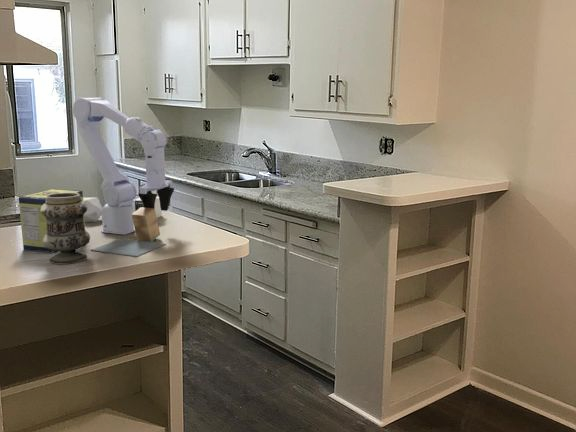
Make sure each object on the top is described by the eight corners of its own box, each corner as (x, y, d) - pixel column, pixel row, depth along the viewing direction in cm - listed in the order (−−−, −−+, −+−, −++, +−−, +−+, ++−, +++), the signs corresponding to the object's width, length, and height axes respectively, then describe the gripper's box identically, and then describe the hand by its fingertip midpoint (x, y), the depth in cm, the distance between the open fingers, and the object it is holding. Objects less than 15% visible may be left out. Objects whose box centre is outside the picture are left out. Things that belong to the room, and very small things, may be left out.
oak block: (137, 240, 182) (131, 214, 178) (146, 233, 186) (140, 207, 182) (151, 242, 180) (145, 215, 176) (160, 234, 184) (154, 208, 180)
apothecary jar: (84, 250, 171) (79, 189, 167) (97, 260, 161) (92, 195, 157) (40, 257, 165) (34, 193, 161) (50, 268, 155) (44, 200, 151)
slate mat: (90, 250, 171) (90, 249, 171) (121, 239, 184) (121, 238, 184) (136, 257, 165) (136, 255, 165) (165, 244, 178) (165, 243, 178)
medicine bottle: (135, 219, 210) (133, 186, 207) (143, 215, 217) (141, 182, 214) (154, 220, 209) (153, 186, 206) (162, 216, 215) (160, 183, 213)
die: (88, 226, 202) (104, 202, 203) (66, 213, 202) (82, 188, 204) (95, 229, 210) (111, 206, 212) (74, 216, 211) (90, 193, 212)
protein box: (87, 240, 183) (83, 190, 179) (51, 253, 168) (47, 199, 165) (59, 237, 186) (54, 188, 183) (22, 250, 172) (17, 197, 168)
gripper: (152, 173, 175) (154, 218, 178) (179, 167, 188) (181, 209, 191) (132, 172, 178) (135, 216, 181) (160, 166, 191) (162, 207, 194)
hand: (157, 212), depth 186 cm, fingers open, 7 cm apart
